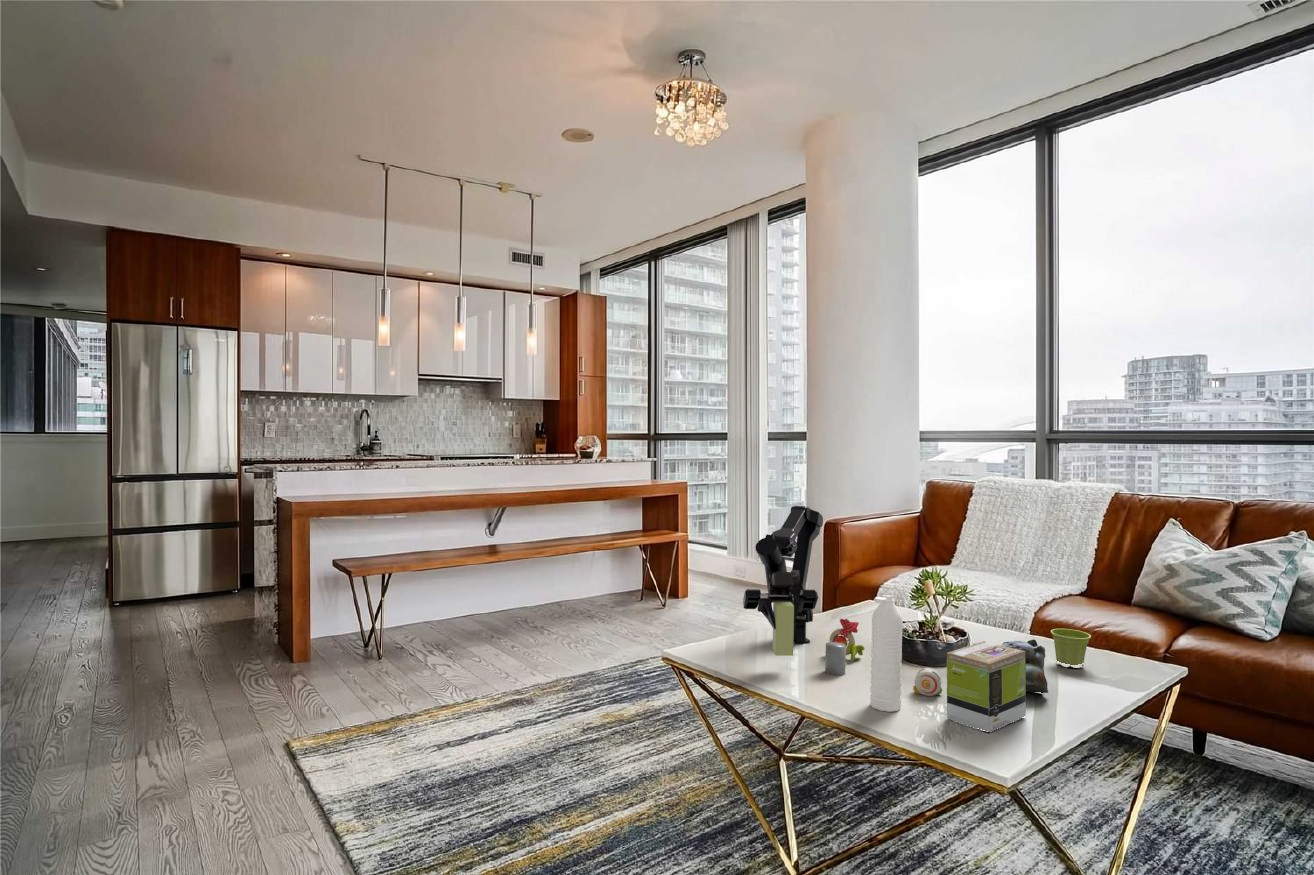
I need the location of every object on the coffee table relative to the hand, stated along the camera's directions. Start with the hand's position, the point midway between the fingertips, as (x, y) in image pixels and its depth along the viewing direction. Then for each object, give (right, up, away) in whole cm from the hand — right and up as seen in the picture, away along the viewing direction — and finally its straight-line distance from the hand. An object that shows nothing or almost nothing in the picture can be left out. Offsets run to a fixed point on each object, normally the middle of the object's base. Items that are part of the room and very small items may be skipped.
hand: (784, 628), depth 189 cm
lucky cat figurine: (+53, -13, -10) cm, 55 cm away
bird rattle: (+19, -12, +14) cm, 26 cm away
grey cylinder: (+13, -12, +2) cm, 18 cm away
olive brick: (0, -7, +1) cm, 7 cm away
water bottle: (+18, -12, -23) cm, 32 cm away
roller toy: (+31, -12, -13) cm, 36 cm away
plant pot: (+78, -13, +10) cm, 80 cm away
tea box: (+38, -13, -28) cm, 49 cm away
